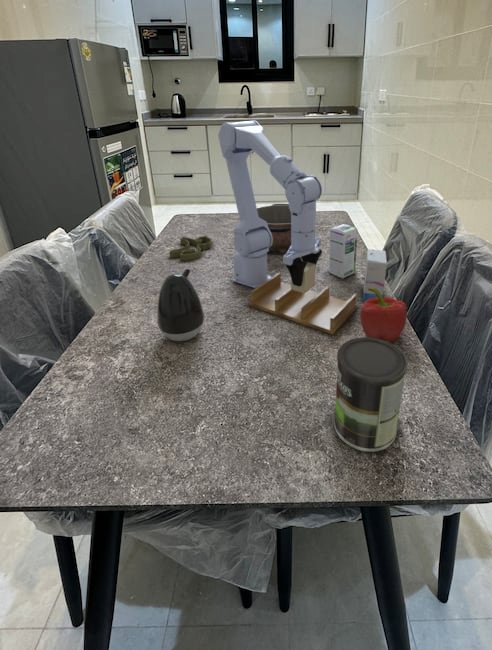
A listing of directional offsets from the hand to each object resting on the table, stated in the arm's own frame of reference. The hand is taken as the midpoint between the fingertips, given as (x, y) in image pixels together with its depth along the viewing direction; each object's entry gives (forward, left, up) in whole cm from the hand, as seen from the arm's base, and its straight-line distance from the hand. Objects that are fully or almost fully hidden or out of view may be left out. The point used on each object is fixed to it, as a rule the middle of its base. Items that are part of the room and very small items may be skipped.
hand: (302, 280), depth 95 cm
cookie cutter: (-52, +12, -8) cm, 54 cm away
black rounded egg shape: (-17, -25, -8) cm, 31 cm away
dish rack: (0, 0, -8) cm, 8 cm away
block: (0, 0, -2) cm, 2 cm away
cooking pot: (-30, +34, -8) cm, 46 cm away
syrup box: (0, +23, -8) cm, 24 cm away
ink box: (+13, +15, -8) cm, 21 cm away
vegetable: (+21, -1, -8) cm, 22 cm away
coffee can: (+28, -27, -8) cm, 40 cm away
